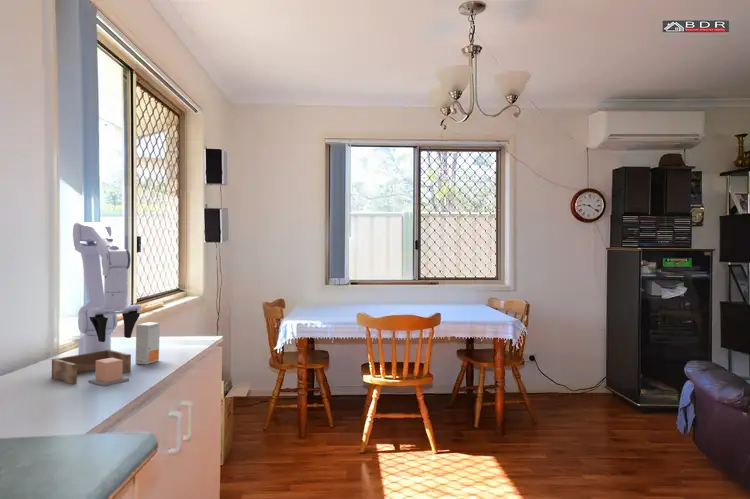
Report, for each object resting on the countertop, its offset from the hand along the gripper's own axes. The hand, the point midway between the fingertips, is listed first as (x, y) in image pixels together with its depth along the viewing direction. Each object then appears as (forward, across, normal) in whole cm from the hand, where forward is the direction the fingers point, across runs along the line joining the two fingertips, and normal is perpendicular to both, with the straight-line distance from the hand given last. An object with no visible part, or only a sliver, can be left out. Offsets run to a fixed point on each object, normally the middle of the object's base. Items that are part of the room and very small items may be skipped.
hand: (114, 339), depth 147 cm
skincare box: (+10, +13, +4) cm, 17 cm away
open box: (+9, -5, +2) cm, 11 cm away
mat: (+9, -6, -8) cm, 13 cm away
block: (+9, -6, -8) cm, 13 cm away
